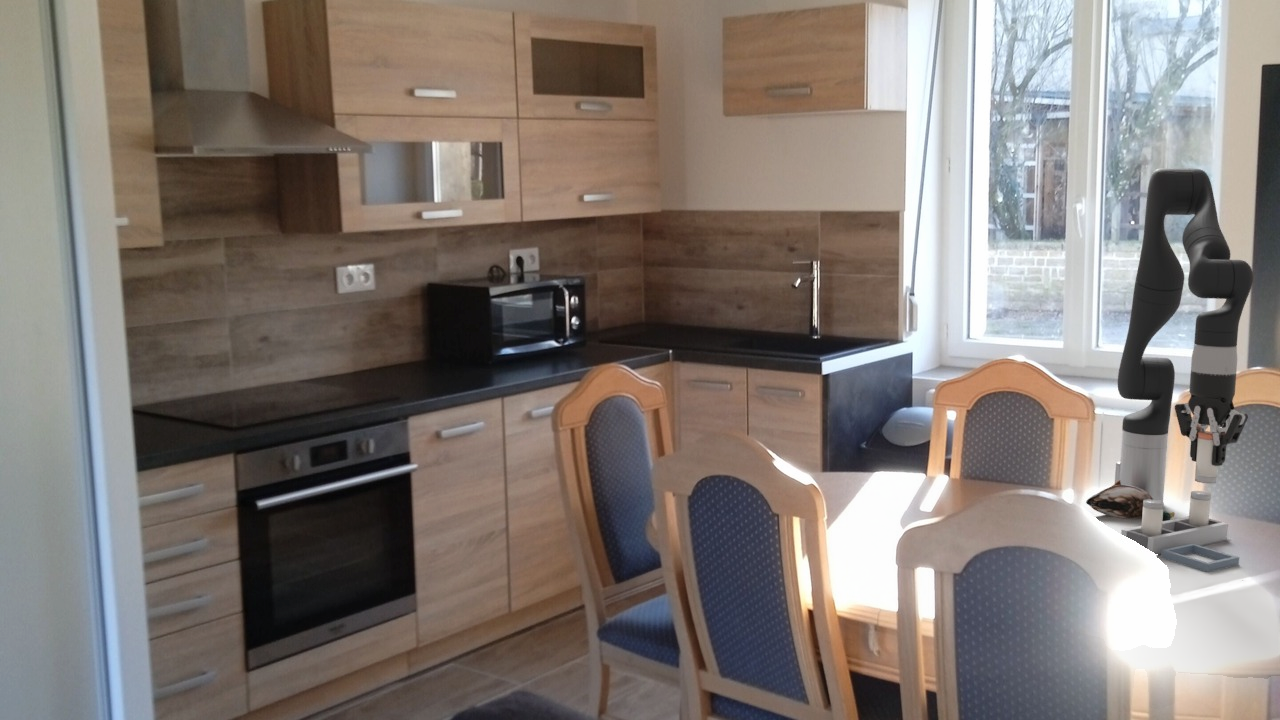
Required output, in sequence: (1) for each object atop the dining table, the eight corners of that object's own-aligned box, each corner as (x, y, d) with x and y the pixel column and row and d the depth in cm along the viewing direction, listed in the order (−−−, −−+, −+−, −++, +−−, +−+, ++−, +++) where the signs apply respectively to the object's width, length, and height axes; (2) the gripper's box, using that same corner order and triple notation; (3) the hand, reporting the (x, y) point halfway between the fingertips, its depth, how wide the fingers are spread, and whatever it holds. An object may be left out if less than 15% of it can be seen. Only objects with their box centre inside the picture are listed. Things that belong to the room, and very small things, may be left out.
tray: (1160, 563, 232) (1161, 550, 232) (1191, 556, 237) (1192, 543, 236) (1207, 578, 224) (1208, 564, 224) (1238, 571, 228) (1239, 557, 228)
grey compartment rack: (1115, 551, 240) (1117, 528, 239) (1193, 535, 251) (1194, 513, 251) (1152, 562, 233) (1154, 540, 232) (1230, 545, 244) (1232, 524, 243)
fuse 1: (1135, 546, 239) (1139, 500, 238) (1148, 543, 241) (1151, 498, 239) (1151, 551, 236) (1155, 505, 235) (1164, 548, 238) (1167, 502, 236)
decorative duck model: (1185, 501, 253) (1124, 503, 248) (1179, 536, 255) (1117, 538, 250) (1137, 477, 267) (1077, 478, 262) (1131, 510, 269) (1072, 512, 264)
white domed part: (1183, 536, 246) (1186, 492, 244) (1195, 534, 248) (1198, 490, 246) (1199, 541, 243) (1203, 496, 241) (1211, 538, 245) (1214, 494, 243)
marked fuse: (1190, 480, 228) (1193, 432, 227) (1203, 478, 230) (1206, 430, 229) (1207, 484, 225) (1211, 435, 224) (1220, 482, 227) (1224, 433, 226)
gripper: (1262, 373, 221) (1255, 468, 223) (1192, 364, 233) (1186, 454, 235) (1235, 376, 217) (1228, 472, 219) (1166, 366, 229) (1160, 457, 232)
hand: (1206, 462), depth 227 cm, fingers closed on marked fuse, 3 cm apart
